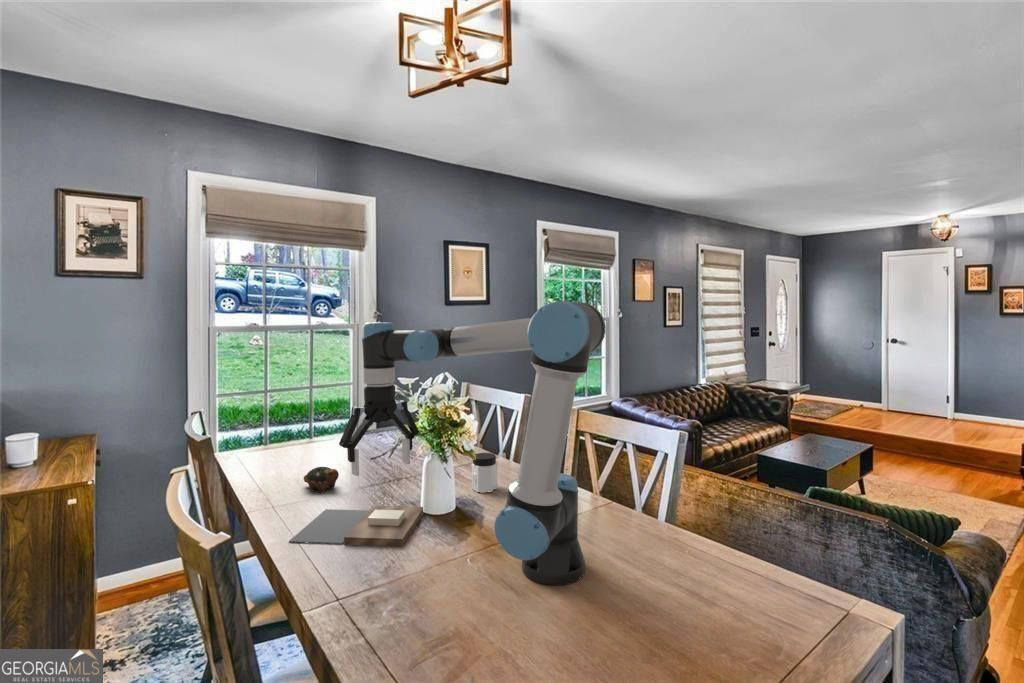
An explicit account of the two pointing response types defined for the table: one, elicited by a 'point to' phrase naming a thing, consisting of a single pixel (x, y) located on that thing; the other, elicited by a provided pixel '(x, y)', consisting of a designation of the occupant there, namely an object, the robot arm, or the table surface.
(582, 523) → the table surface
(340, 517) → the place mat
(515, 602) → the table surface
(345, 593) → the table surface
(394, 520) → the cream rectangular block
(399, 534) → the serving board
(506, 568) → the table surface
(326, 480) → the decorative turtle
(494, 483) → the jar
